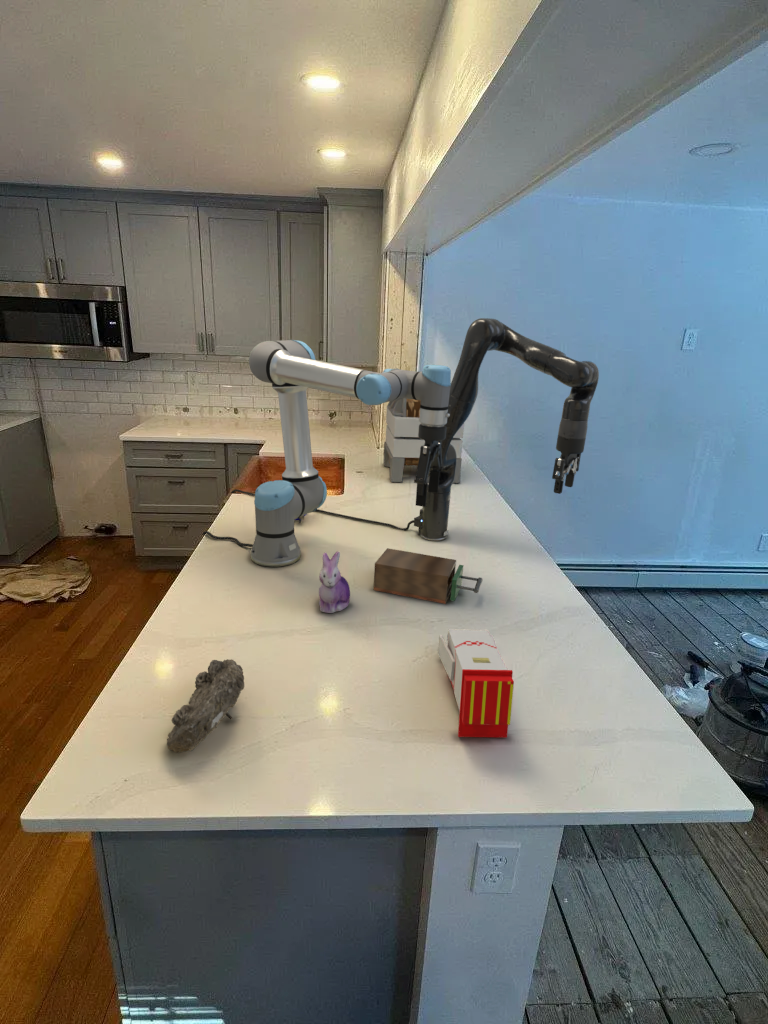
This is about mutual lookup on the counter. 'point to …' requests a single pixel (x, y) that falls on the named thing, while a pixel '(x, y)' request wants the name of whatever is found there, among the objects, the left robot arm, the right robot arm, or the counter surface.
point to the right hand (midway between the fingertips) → (563, 489)
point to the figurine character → (300, 518)
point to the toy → (478, 682)
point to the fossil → (206, 705)
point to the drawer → (457, 583)
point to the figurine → (332, 586)
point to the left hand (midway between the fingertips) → (427, 498)
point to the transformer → (409, 438)
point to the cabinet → (414, 575)
